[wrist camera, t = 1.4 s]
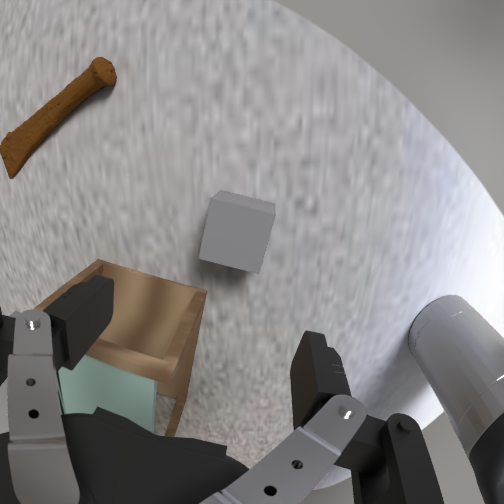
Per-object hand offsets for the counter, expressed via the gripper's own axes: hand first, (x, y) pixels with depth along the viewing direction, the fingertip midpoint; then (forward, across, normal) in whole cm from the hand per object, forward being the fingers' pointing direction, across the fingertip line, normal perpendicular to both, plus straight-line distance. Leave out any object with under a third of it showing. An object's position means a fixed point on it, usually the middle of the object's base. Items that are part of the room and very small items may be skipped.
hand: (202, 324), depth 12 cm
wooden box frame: (+17, +8, +16) cm, 25 cm away
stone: (+18, 0, 0) cm, 18 cm away
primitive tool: (+18, +24, -6) cm, 30 cm away
